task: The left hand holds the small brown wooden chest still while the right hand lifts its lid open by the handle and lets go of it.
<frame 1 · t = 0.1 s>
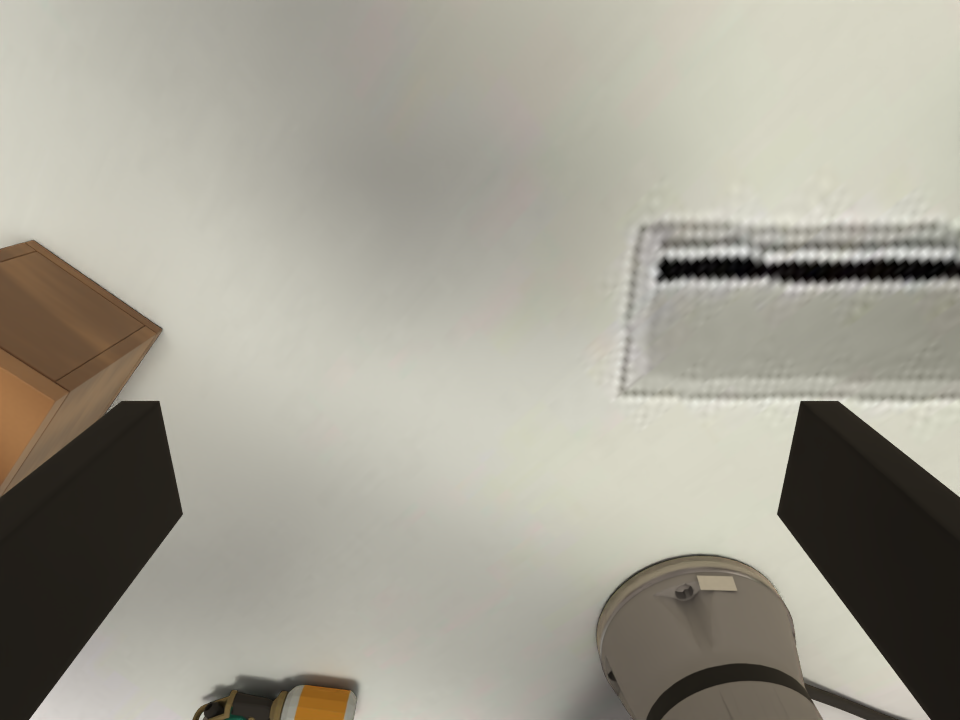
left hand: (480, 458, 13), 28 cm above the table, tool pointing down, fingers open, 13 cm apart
chest: (54, 356, 42), on the table
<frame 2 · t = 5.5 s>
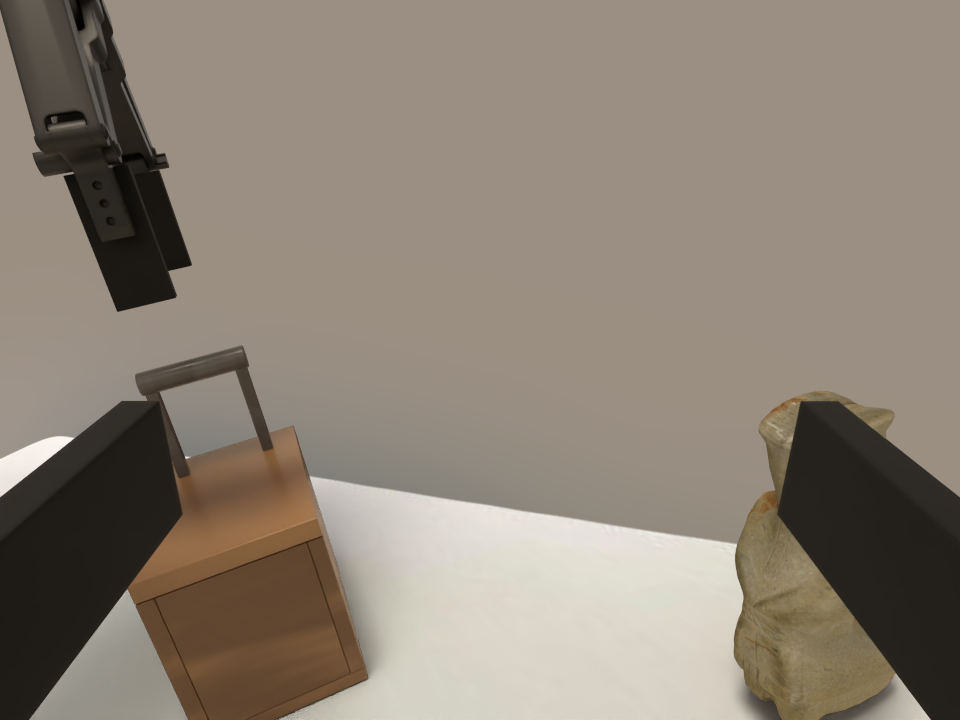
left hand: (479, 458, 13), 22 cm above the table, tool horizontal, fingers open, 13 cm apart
right hand: (161, 284, 37), fingers open, 13 cm apart
lid: (209, 444, 36), point 14 cm above the table, hinge at 0.0°
sculpture: (812, 690, 31), on the table
chest: (280, 638, 41), on the table
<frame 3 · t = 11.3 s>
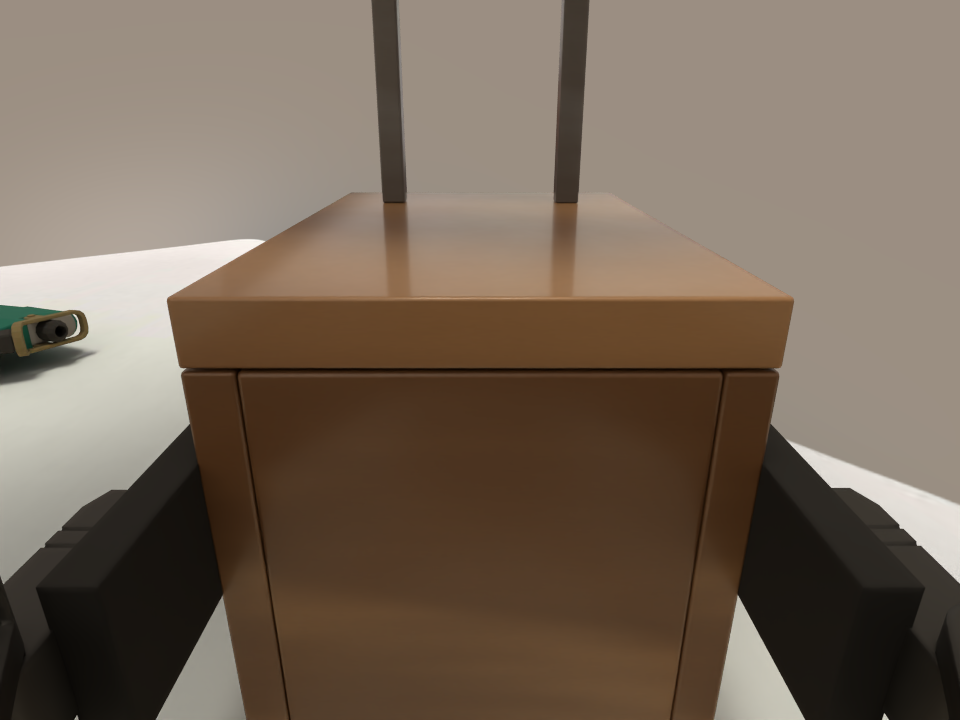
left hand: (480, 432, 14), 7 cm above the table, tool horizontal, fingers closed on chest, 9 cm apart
lid: (480, 89, 14), point 14 cm above the table, hinge at 0.0°
chest: (480, 591, 19), on the table, touching left hand
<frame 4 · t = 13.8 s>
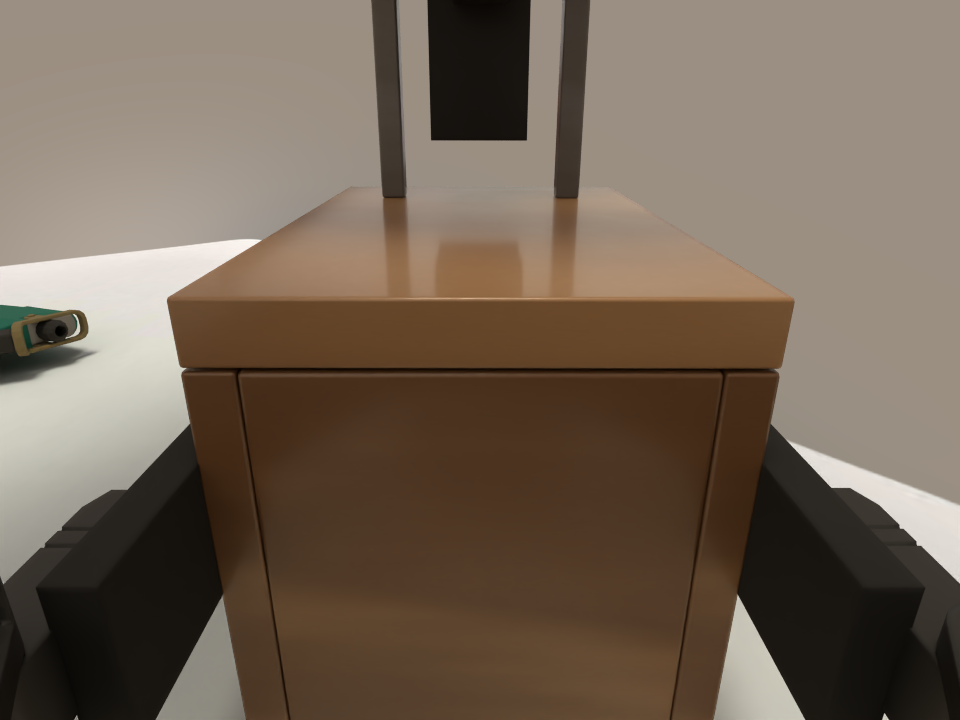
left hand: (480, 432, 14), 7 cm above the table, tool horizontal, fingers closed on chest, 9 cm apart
lid: (480, 85, 14), point 14 cm above the table, hinge at 0.8°, touching right hand
chest: (479, 591, 19), on the table, touching left hand
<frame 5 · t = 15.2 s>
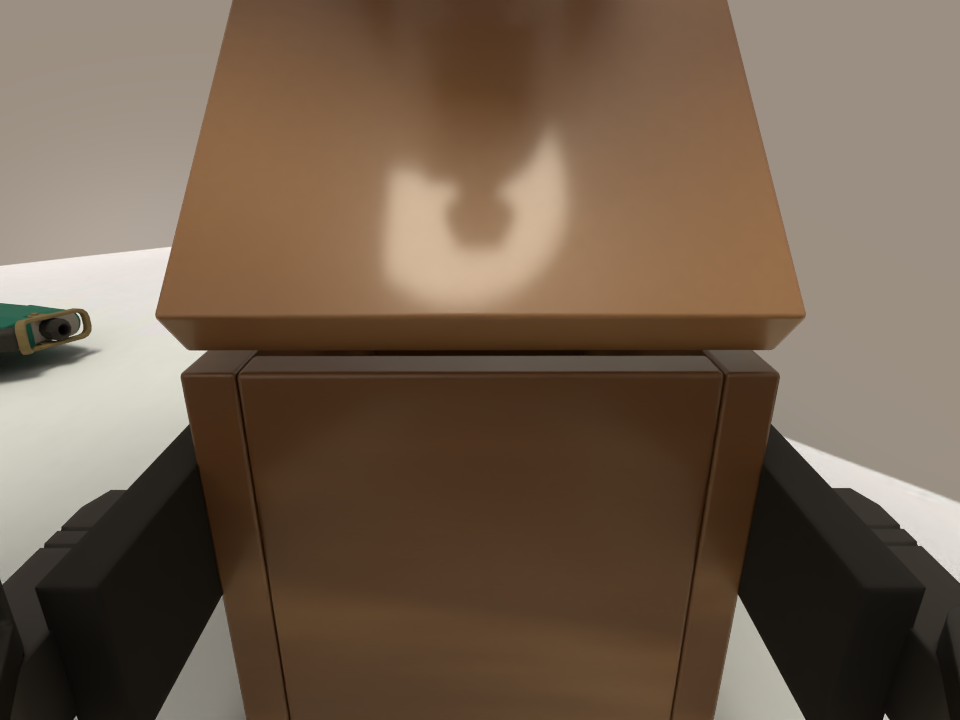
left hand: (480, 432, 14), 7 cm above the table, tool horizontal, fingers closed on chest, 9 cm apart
chest: (479, 590, 19), on the table, touching left hand
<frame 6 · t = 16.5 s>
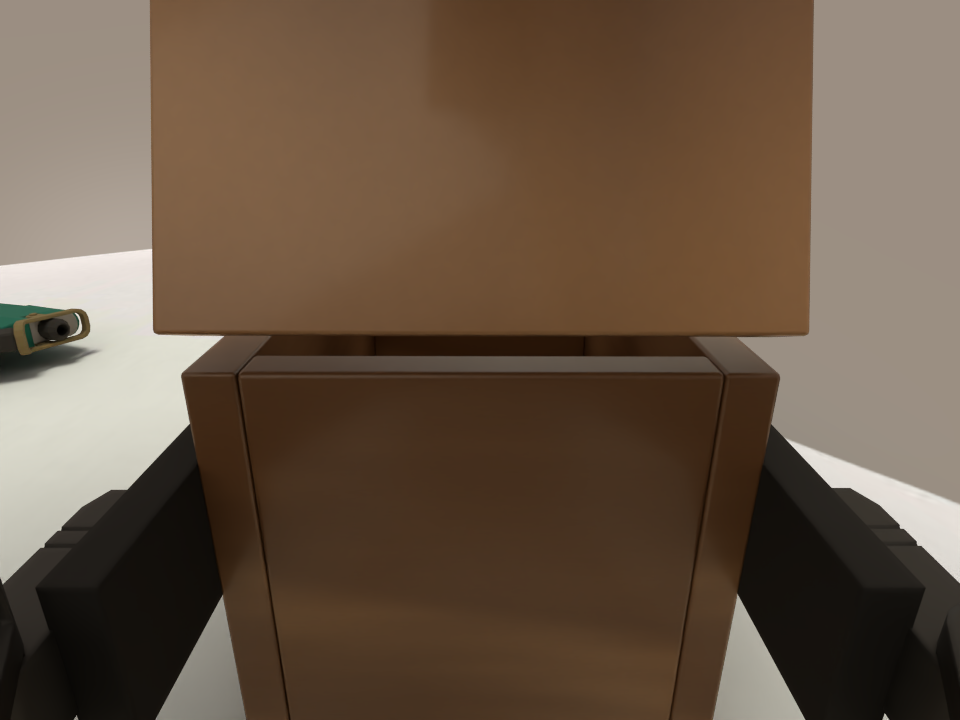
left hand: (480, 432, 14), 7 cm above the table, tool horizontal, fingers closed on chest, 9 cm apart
chest: (479, 590, 19), on the table, touching left hand
when the left hand's fingers open (7 cm above the table, at t = 20.6 s): chest stays where it is, on the table.
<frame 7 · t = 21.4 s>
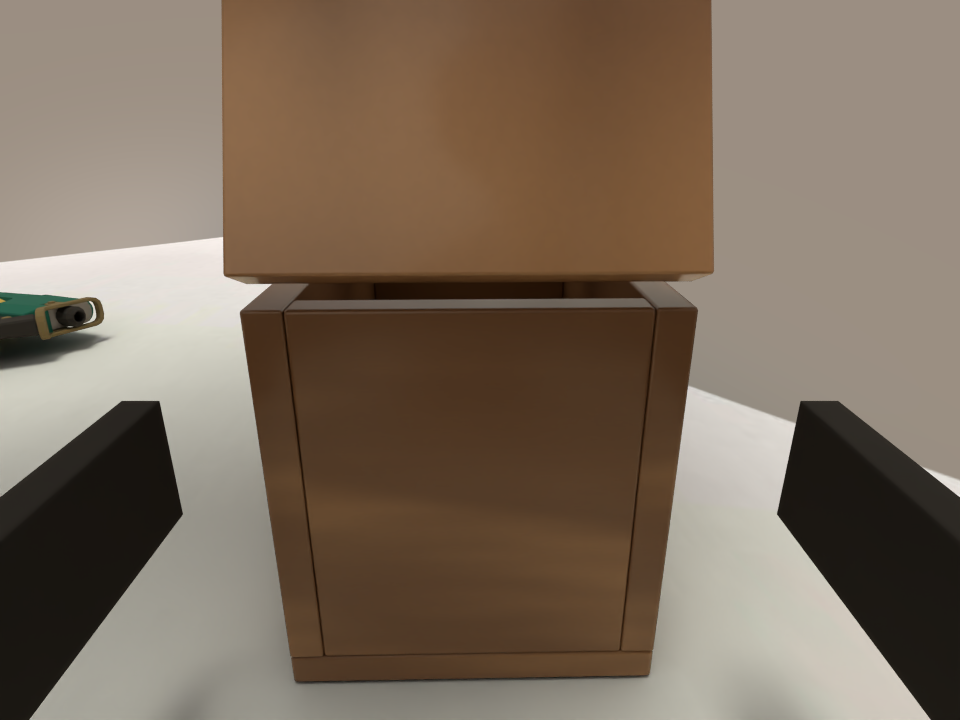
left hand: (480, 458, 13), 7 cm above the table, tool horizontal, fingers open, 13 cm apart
chest: (471, 526, 22), on the table
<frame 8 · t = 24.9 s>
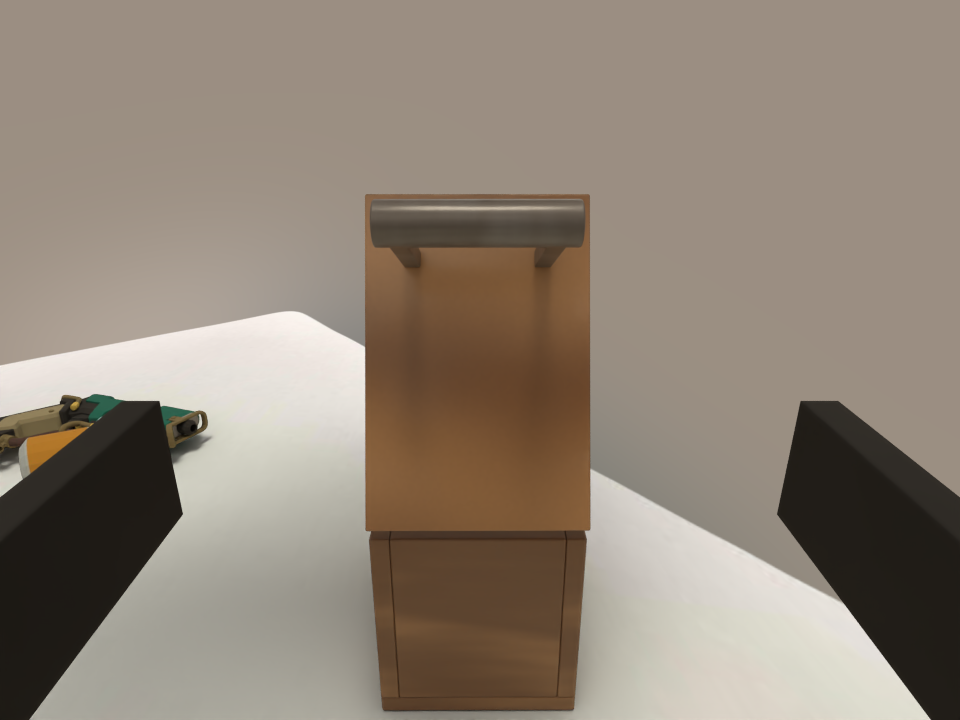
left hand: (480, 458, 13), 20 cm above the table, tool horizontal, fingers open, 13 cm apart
spray gun: (90, 449, 54), on the table
lid: (477, 362, 23), point 19 cm above the table, hinge at 68.6°
chest: (478, 611, 36), on the table
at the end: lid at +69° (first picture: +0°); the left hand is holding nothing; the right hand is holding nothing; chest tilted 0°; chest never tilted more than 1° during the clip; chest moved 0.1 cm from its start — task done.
